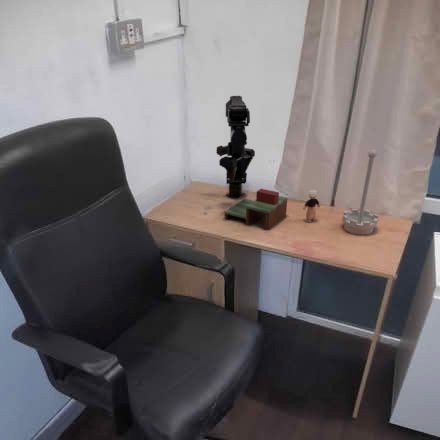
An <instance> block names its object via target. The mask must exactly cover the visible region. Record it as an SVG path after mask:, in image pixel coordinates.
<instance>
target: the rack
mask: <svg viewBox="0 0 440 440" xmlns="http://www.w3.org/2000/svg"><path fill="white" fill-rule="evenodd" d="M287 207H288V197H287V196H282V195H279V199H278V203H276V204H275V205H272V204H268V203H263V202H259V201H256V199H254V200H253V199H248V198H243V199H241V200H240V201H239V202H237V203H235V204H234V205H232V206H230V207H229V208H227V209H226V210H224V220H226V221H228V220H229V219H231V218H232V217H236V218H237V217H238V218H241V219H245V225H246V226H250V225H251V224H252V223H254V222H255V221H257V220H258V219H259V218H260V217H262V216H263V215H265V231H269V230H270V229H272V228H273V227H274V226H275V225H276V224H278V223H279V222H281V221H282V220H284V218H285V217H286V216H287Z"/></svg>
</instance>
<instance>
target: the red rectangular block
mask: <svg viewBox="0 0 440 440" xmlns="http://www.w3.org/2000/svg"><path fill="white" fill-rule="evenodd" d="M255 195H256V197H255V198H256V199H255V200H256V201H259V202H263V203H268V204H272V205H275V204H276V203H278V199H279V196H280V192H279V191H274V190H269V189H264V188H259V189H258V190H257V191H256V194H255Z"/></svg>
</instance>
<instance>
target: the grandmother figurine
mask: <svg viewBox="0 0 440 440" xmlns="http://www.w3.org/2000/svg"><path fill="white" fill-rule="evenodd" d="M317 196H318V192H317V190H316V189H311V190H309V191H308V197H309V199H308V200H307V201H306V202H305V204H304V206H303V208H302V210H304V211H305V210H306V214H305V219H304V221H305V222H307V223H311V222H316V215H317V213H316V212H317V209H316V208H321V205H320V202H319V200H318V198H316V197H317ZM316 206H317V207H316Z"/></svg>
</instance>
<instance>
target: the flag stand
mask: <svg viewBox="0 0 440 440" xmlns="http://www.w3.org/2000/svg"><path fill="white" fill-rule="evenodd" d="M377 155H378V152H377V150H376V149H370V150H369V151H368V153H367V156H368V164H367V170H366V174H365V179H364V185H363V190H362V195H361V201H360V207H359V208H351V211H349V210H345V211H343V214H342V218H341V219H342V222H343V229H344V231H346V232H348V233H350V234H353V235H360V236H361V235H362V236H363V235H369V234H371V233H373V231H374V227H377V225H378V224H379V223H378V222H379V214H377V213H373V214H371V213H372V212H371V210H369V209H365V206H366V202H367V196H368V190H369V185H370V181H371V175H372V169H373V165H374V161H375V158H376V157H377Z"/></svg>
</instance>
